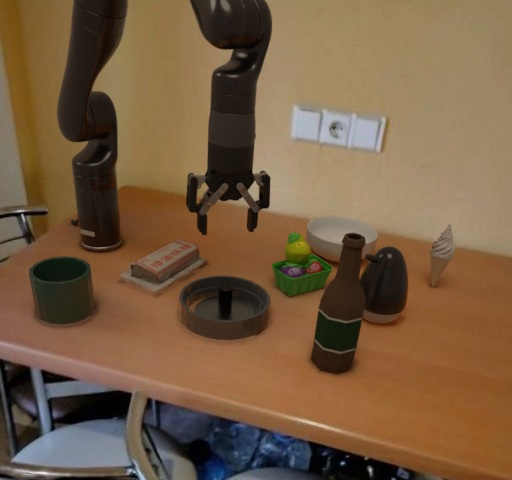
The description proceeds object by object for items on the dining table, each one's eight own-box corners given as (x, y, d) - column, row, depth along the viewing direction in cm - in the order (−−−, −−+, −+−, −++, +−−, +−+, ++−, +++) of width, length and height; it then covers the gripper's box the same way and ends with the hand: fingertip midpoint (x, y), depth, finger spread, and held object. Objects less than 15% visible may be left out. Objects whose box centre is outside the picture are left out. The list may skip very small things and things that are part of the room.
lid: (188, 302, 112) (188, 275, 108) (244, 297, 115) (246, 270, 112) (202, 335, 103) (202, 306, 99) (262, 327, 106) (264, 300, 103)
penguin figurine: (341, 307, 115) (353, 239, 107) (384, 300, 119) (399, 233, 110) (366, 334, 107) (382, 262, 99) (412, 326, 111) (430, 256, 102)
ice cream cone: (445, 284, 127) (464, 222, 118) (442, 294, 123) (460, 230, 114) (423, 278, 128) (440, 216, 120) (419, 288, 124) (435, 224, 116)
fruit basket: (288, 301, 116) (293, 251, 110) (265, 282, 122) (269, 233, 116) (331, 289, 121) (339, 241, 115) (307, 271, 127) (313, 225, 121)
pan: (172, 299, 113) (171, 279, 111) (253, 291, 118) (254, 272, 116) (189, 347, 100) (189, 326, 97) (280, 336, 105) (282, 315, 102)
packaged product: (172, 232, 128) (207, 244, 124) (172, 252, 131) (207, 264, 127) (117, 261, 115) (155, 275, 111) (119, 281, 118) (156, 296, 114)
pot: (36, 300, 110) (29, 258, 105) (92, 295, 113) (88, 254, 108) (36, 329, 101) (28, 286, 96) (97, 323, 104) (92, 280, 99)
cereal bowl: (366, 278, 127) (372, 249, 123) (295, 263, 130) (298, 235, 126) (377, 249, 140) (383, 222, 136) (313, 236, 144) (316, 209, 140)
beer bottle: (307, 348, 102) (325, 225, 89) (349, 348, 103) (373, 226, 90) (314, 374, 96) (334, 246, 82) (358, 375, 97) (386, 247, 83)
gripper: (266, 131, 95) (258, 221, 104) (182, 132, 91) (182, 225, 100) (280, 144, 89) (271, 238, 98) (192, 146, 85) (191, 243, 94)
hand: (226, 231), depth 99 cm, fingers open, 8 cm apart
